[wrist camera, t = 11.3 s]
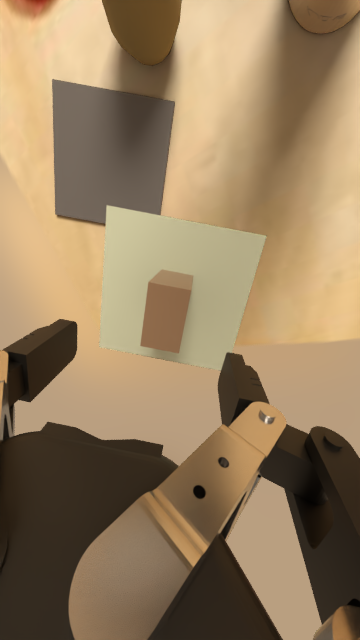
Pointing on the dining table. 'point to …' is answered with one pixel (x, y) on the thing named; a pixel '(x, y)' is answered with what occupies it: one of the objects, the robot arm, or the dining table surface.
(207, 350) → the cover
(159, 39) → the squeeze bottle
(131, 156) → the mat
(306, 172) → the dining table surface
